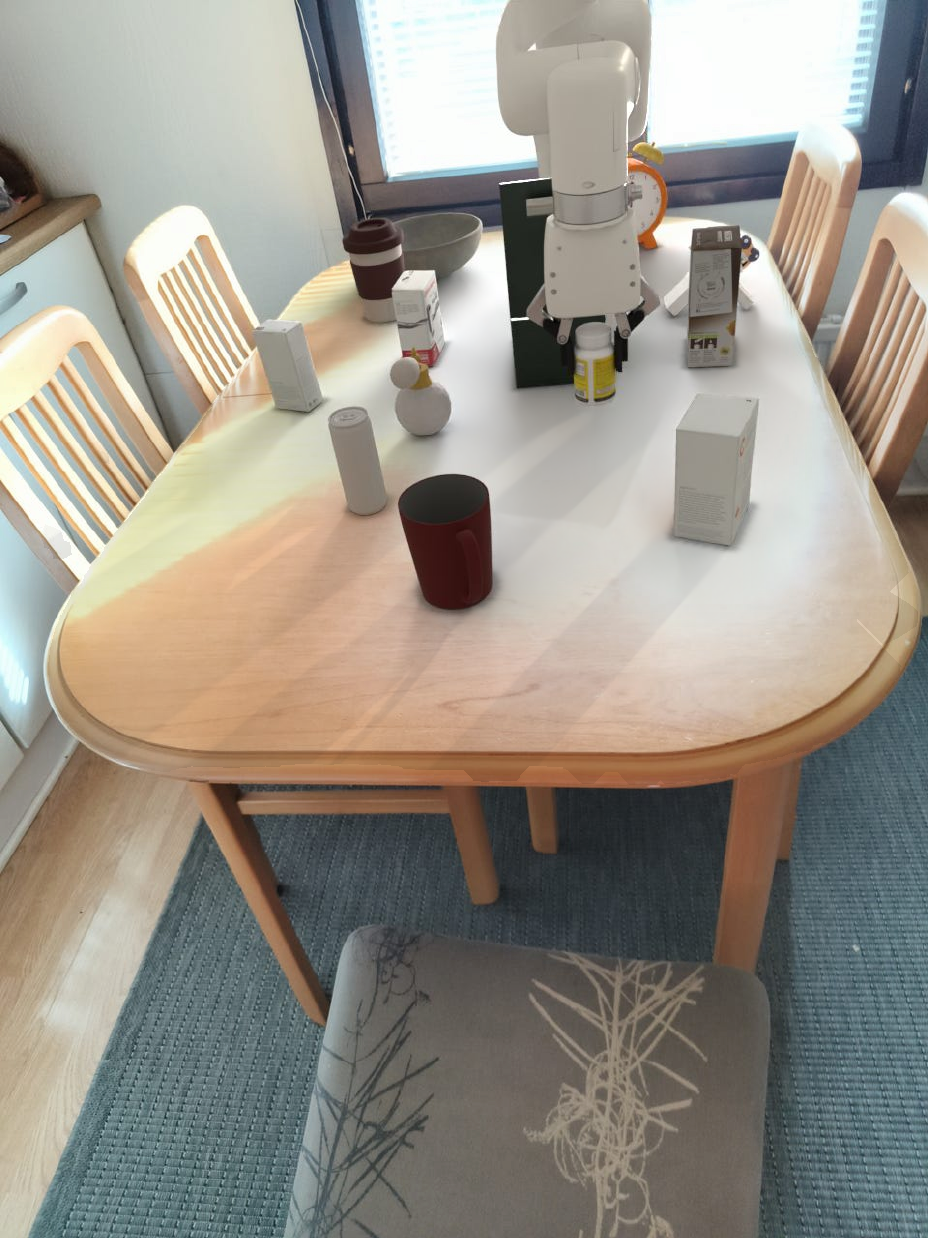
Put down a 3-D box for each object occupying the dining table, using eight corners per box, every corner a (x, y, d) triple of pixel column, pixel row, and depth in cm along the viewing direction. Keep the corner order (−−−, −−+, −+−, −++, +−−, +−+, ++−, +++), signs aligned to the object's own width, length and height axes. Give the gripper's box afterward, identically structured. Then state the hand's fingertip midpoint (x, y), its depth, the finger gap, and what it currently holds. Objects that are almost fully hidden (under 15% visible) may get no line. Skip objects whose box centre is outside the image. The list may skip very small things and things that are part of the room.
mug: (525, 615, 88) (516, 523, 81) (442, 644, 86) (425, 552, 79) (481, 552, 97) (469, 464, 90) (404, 577, 95) (386, 490, 88)
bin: (518, 342, 137) (512, 278, 131) (600, 334, 136) (599, 270, 129) (516, 388, 125) (510, 321, 119) (606, 380, 124) (605, 312, 117)
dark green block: (499, 183, 110) (497, 190, 106) (601, 171, 108) (604, 178, 104) (510, 316, 119) (509, 328, 115) (605, 307, 117) (607, 319, 113)
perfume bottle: (450, 412, 122) (438, 328, 114) (460, 446, 115) (448, 359, 107) (397, 422, 122) (381, 338, 114) (403, 456, 115) (386, 370, 107)
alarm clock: (598, 260, 160) (595, 137, 147) (587, 250, 164) (583, 130, 151) (667, 245, 161) (671, 123, 148) (654, 236, 166) (656, 116, 153)
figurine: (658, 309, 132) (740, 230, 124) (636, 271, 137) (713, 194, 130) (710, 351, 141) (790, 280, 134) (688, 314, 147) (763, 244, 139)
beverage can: (348, 498, 108) (327, 409, 101) (387, 492, 108) (369, 402, 101) (348, 519, 105) (325, 429, 97) (388, 513, 105) (369, 422, 97)
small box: (692, 496, 100) (698, 390, 91) (750, 505, 97) (761, 396, 89) (671, 537, 95) (674, 428, 86) (730, 547, 92) (741, 436, 84)
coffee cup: (348, 325, 150) (329, 234, 141) (374, 302, 157) (357, 214, 148) (400, 328, 147) (384, 234, 137) (424, 304, 154) (410, 213, 144)
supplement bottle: (619, 388, 105) (619, 320, 100) (611, 408, 102) (610, 339, 96) (579, 386, 107) (577, 319, 101) (570, 406, 103) (567, 337, 98)
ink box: (434, 367, 134) (422, 289, 126) (403, 368, 135) (389, 291, 127) (446, 342, 140) (435, 267, 133) (416, 343, 141) (404, 269, 134)
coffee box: (733, 366, 122) (743, 247, 112) (686, 368, 124) (691, 250, 113) (731, 338, 129) (740, 223, 119) (685, 340, 130) (691, 226, 120)
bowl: (445, 301, 154) (439, 254, 148) (351, 290, 163) (342, 245, 158) (506, 258, 166) (502, 213, 161) (415, 250, 176) (409, 207, 171)
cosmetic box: (324, 399, 130) (305, 319, 122) (307, 414, 127) (286, 333, 119) (290, 395, 132) (269, 316, 125) (273, 409, 130) (250, 329, 122)
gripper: (671, 182, 92) (665, 348, 104) (507, 200, 94) (521, 360, 106) (679, 205, 86) (673, 378, 98) (505, 224, 88) (520, 390, 100)
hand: (594, 367), depth 102 cm, fingers closed on supplement bottle, 4 cm apart
